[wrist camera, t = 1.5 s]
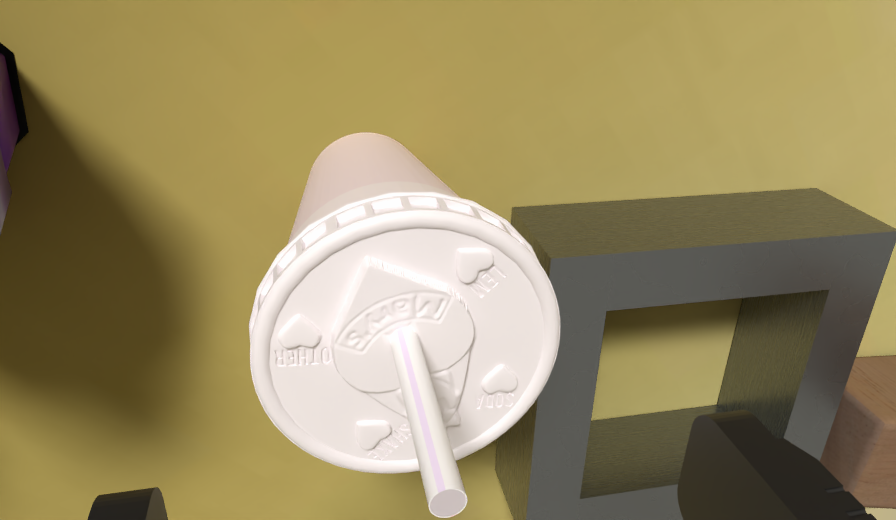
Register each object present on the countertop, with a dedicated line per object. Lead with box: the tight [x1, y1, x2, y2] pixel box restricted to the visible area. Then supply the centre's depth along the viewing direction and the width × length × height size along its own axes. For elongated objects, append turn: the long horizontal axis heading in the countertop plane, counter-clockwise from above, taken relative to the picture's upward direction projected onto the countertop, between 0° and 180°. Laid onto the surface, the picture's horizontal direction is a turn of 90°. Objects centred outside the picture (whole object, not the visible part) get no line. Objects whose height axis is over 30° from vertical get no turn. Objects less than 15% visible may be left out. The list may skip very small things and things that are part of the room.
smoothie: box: [249, 133, 560, 518], centre depth 16 cm, size 6×6×14 cm
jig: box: [495, 188, 896, 520], centre depth 25 cm, size 12×12×4 cm
